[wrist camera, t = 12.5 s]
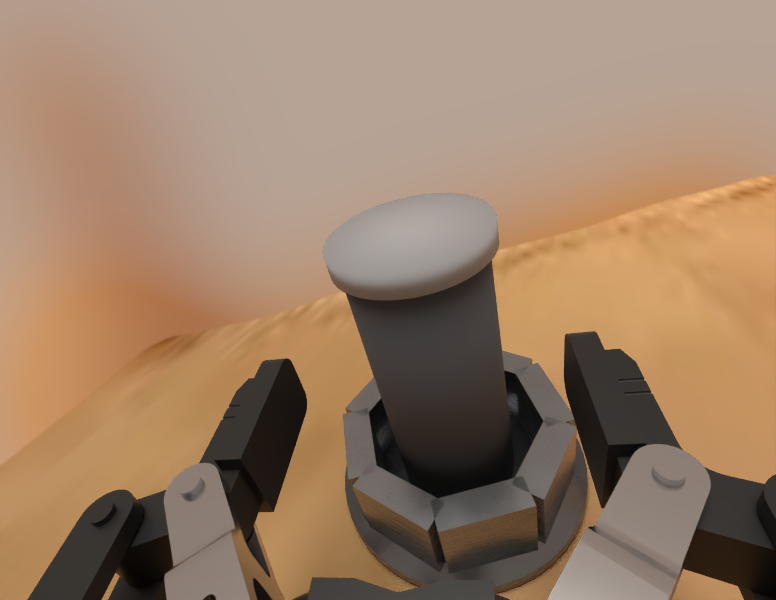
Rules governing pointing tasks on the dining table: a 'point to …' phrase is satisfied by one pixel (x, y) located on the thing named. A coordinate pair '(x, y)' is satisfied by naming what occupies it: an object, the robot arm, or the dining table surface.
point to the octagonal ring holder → (471, 493)
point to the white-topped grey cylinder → (431, 333)
